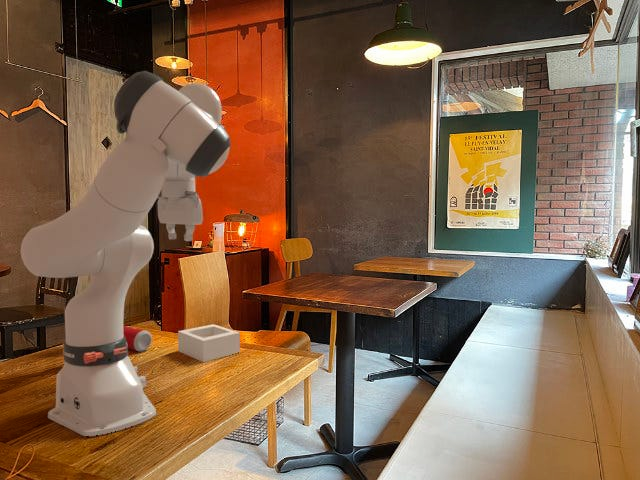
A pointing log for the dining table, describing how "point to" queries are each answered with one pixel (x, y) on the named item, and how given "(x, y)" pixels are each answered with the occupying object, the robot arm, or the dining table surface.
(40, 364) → the dining table surface
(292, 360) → the dining table surface
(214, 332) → the white square frame
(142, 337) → the beverage can
